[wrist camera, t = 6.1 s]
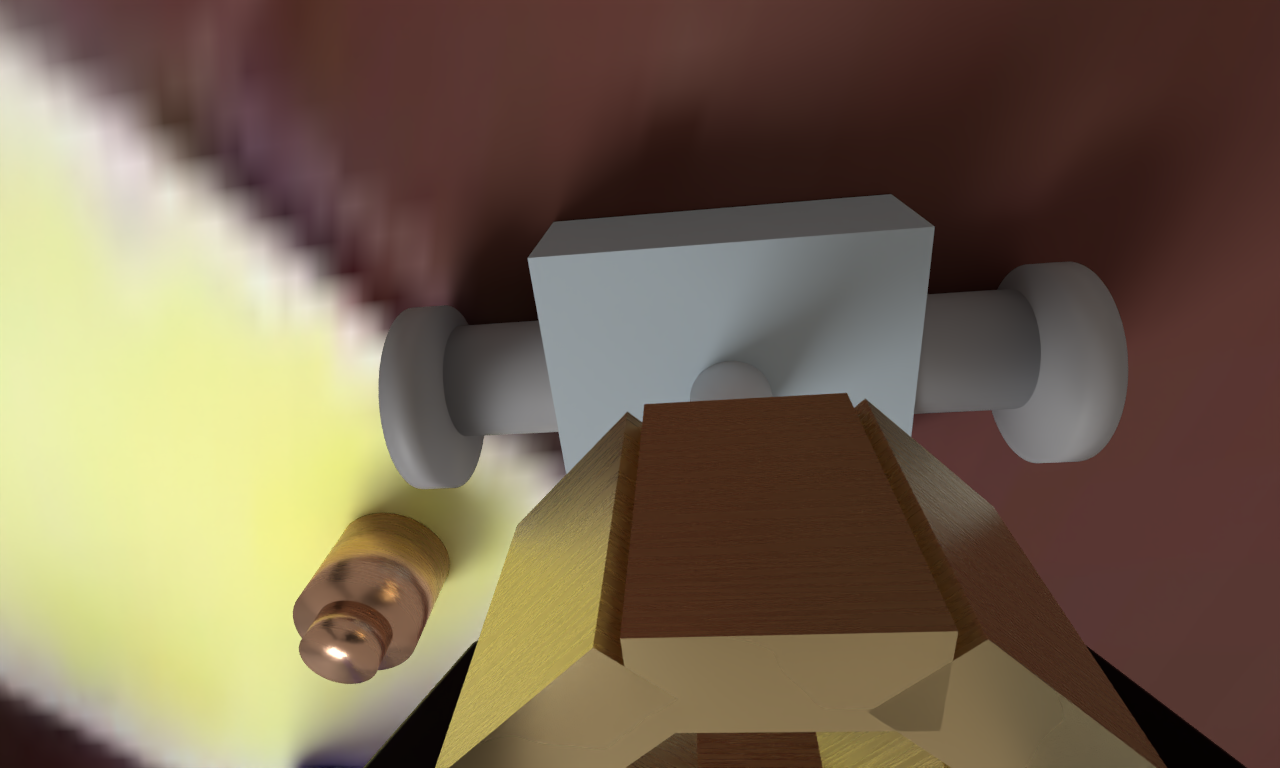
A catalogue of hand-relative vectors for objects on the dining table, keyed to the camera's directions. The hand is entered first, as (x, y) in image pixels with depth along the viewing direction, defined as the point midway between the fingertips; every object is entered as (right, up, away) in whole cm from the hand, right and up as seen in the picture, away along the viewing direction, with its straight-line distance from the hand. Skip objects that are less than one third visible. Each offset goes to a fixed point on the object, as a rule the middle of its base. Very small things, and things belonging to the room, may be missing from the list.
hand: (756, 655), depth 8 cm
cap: (-10, -2, +13) cm, 16 cm away
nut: (0, 0, +1) cm, 1 cm away
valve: (+1, +5, +9) cm, 10 cm away
